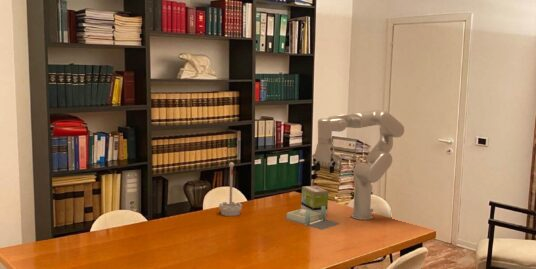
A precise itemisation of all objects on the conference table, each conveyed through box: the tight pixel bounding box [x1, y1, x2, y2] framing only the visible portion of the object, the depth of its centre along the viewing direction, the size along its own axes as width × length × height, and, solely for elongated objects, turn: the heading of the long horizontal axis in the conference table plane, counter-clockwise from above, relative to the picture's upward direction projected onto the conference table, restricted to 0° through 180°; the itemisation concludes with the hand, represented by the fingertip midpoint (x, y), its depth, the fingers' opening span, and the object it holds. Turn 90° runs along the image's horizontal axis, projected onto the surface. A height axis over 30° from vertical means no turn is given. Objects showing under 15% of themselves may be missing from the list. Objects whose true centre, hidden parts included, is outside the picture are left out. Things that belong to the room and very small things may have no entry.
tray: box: [286, 208, 321, 224], centre depth 292 cm, size 13×13×3 cm
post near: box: [304, 210, 310, 226], centre depth 281 cm, size 2×2×8 cm
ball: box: [299, 209, 306, 217], centre depth 292 cm, size 5×5×5 cm
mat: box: [284, 217, 341, 231], centre depth 289 cm, size 17×27×1 cm, turn 47°
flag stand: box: [218, 161, 243, 217], centre depth 300 cm, size 13×13×30 cm
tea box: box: [300, 185, 329, 217], centre depth 306 cm, size 15×10×15 cm, turn 25°
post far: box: [320, 206, 326, 220], centre depth 292 cm, size 2×2×8 cm
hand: (324, 171), depth 287 cm, fingers open, 9 cm apart
